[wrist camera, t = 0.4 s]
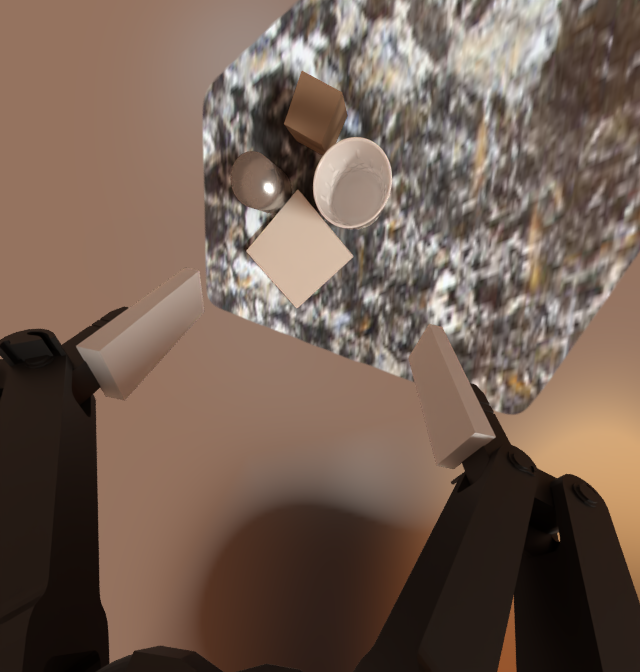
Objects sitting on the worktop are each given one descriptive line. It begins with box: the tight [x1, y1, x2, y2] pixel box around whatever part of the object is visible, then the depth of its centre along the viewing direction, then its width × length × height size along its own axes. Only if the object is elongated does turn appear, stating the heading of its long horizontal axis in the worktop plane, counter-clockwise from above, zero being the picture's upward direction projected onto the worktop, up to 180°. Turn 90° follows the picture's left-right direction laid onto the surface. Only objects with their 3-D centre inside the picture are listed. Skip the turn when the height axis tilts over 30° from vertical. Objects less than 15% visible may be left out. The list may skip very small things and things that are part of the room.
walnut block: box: [284, 71, 347, 155], centre depth 29 cm, size 5×5×5 cm
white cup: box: [313, 137, 392, 229], centre depth 29 cm, size 8×8×10 cm
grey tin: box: [231, 151, 292, 214], centre depth 33 cm, size 6×6×6 cm
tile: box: [246, 190, 354, 308], centre depth 37 cm, size 12×12×1 cm
